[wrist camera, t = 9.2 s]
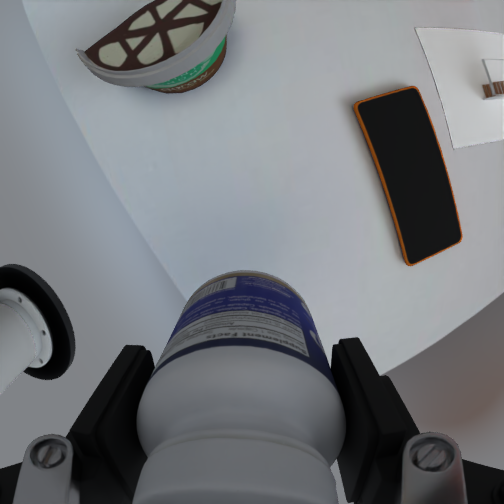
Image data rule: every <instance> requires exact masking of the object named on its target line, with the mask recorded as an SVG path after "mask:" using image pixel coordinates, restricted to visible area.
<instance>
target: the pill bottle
mask: <svg viewBox="0 0 504 504" xmlns="http://www.w3.org/2000/svg"><path fill="white" fill-rule="evenodd" d="M136 421H137V433H138V437H139V441H140V443H141V446H142V448H143V450H144V452H145V454H146V455H147V457H148V459H147V461H146V462H145V464H144V466H143V468H142V471H141V474H140V477H139V481H138V484H137V487H136V491H135V495H134V498H133V502H132V504H338V497H337V492H336V482H335V479H334V476H333V474H332V472H331V469H330V467H331V465H332V464H333V463H334V461H335V460H336V459H337V457H338V455H339V453H340V451H341V449H342V447H343V444H344V440H345V435H346V416H345V412H344V408H343V404H342V400H341V397H340V394H339V391H338V388H337V386H336V383H335V380H334V377H333V374H332V372H331V369H330V366H329V363H328V360H327V357H326V354H325V352H324V349H323V346H322V343H321V340H320V338H319V335H318V333H317V330H316V327H315V325H314V322H313V319H312V316H311V314H310V311H309V309H308V307H307V305H306V303H305V301H304V300H303V298H302V297H301V296H300V295H299V293H298V292H297V291H296V290H295V289H294V288H293V287H291V286H290V285H289V284H288V283H286V282H284V281H283V280H281V279H279V278H277V277H275V276H273V275H270V274H267V273H263V272H258V271H248V270H241V271H233V272H228V273H225V274H222V275H219V276H217V277H214V278H212V279H211V280H209V281H207V282H206V283H204V284H203V285H202V286H200V287H199V288H198V289H197V290H196V291H195V292H194V293H193V295H192V296H191V297H190V299H189V300H188V302H187V304H186V305H185V307H184V309H183V311H182V313H181V316H180V318H179V320H178V322H177V324H176V326H175V328H174V330H173V332H172V334H171V337H170V339H169V341H168V343H167V345H166V347H165V349H164V351H163V353H162V355H161V357H160V359H159V361H158V363H157V365H156V367H155V369H154V371H153V373H152V375H151V377H150V379H149V380H148V382H147V385H146V387H145V390H144V392H143V395H142V398H141V400H140V403H139V407H138V411H137V419H136Z"/></svg>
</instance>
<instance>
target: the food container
mask: <svg viewBox="0 0 504 504" xmlns="http://www.w3.org/2000/svg"><path fill="white" fill-rule="evenodd" d="M235 8H236V0H155V1H153V2H151V3H149V4H147V5H146V6H144V7H143V8H141V9H140V10H138V11H137V12H136V13H134V14H133V15H132V16H130V17H129V18H128V19H127V20H125V21H124V22H123V23H122V24H120V25H119V26H118V27H117V28H115V29H114V30H112V31H111V32H110V33H108V34H107V35H106V36H104V37H103V38H102V39H100V40H99V41H98V42H96V43H95V44H94V45H92V46H91V47H90V48H88V49H87V50H86V51H85V52H84V51H82V50H79V49H76V51H77V52H78V54H77V55H78V56H79V58H80V59H81V61H82V62H83V63H84V64H85V66H86V67H87V68H88V69H89V70H90V71H91V72H92V73H93V74H94V75H95V76H97V77H98V78H100V79H102V80H103V81H106V82H108V83H111V84H114V85H119V86H124V87H141V86H144V87H147V88H150V89H152V90H156V91H159V92H163V93H183V92H186V91H189V90H192V89H195V88H197V87H199V86H201V85H202V84H204V83H205V82H207V81H208V80H209V79H210V78H211V77H212V76H214V74H215V73H216V72H217V71H218V69H219V68H220V66H221V64H222V62H223V60H224V57H225V54H226V46H227V32H228V30H229V28H230V26H231V24H232V22H233V18H234V14H235Z"/></svg>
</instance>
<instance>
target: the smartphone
mask: <svg viewBox="0 0 504 504" xmlns="http://www.w3.org/2000/svg"><path fill="white" fill-rule="evenodd" d="M354 111H355V114H356V116H357V118H358V121H359V123H360V126H361V128H362V131H363V133H364V136H365V138H366V141H367V143H368V146H369V148H370V151H371V154H372V156H373V159H374V162H375V165H376V167H377V170H378V173H379V176H380V179H381V182H382V185H383V188H384V191H385V194H386V197H387V200H388V203H389V207H390V210H391V213H392V216H393V220H394V223H395V227H396V230H397V234H398V237H399V241H400V245H401V248H402V252H403V256H404V260H405V263H406V265H408V266H413V265H415V264H417V263H419V262H422V261H424V260H426V259H428V258H430V257H432V256H434V255H436V254H438V253H440V252H442V251H444V250H446V249H448V248H450V247H452V246H454V245H456V244H458V243H460V242H461V240H462V231H461V226H460V221H459V216H458V212H457V207H456V203H455V199H454V195H453V191H452V187H451V183H450V179H449V176H448V172H447V168H446V165H445V162H444V158H443V155H442V151H441V148H440V145H439V142H438V139H437V136H436V133H435V130H434V127H433V124H432V121H431V119H430V116H429V113H428V111H427V108H426V106H425V104H424V101H423V99H422V96H421V94H420V92H419V90H418V88H417V87H415V86H410V87H406V88H402V89H398V90H395V91H391V92H388V93H384V94H381V95H377V96H374V97H371V98H367V99H365V100H361V101H358V102H356V103H355V104H354Z"/></svg>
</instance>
